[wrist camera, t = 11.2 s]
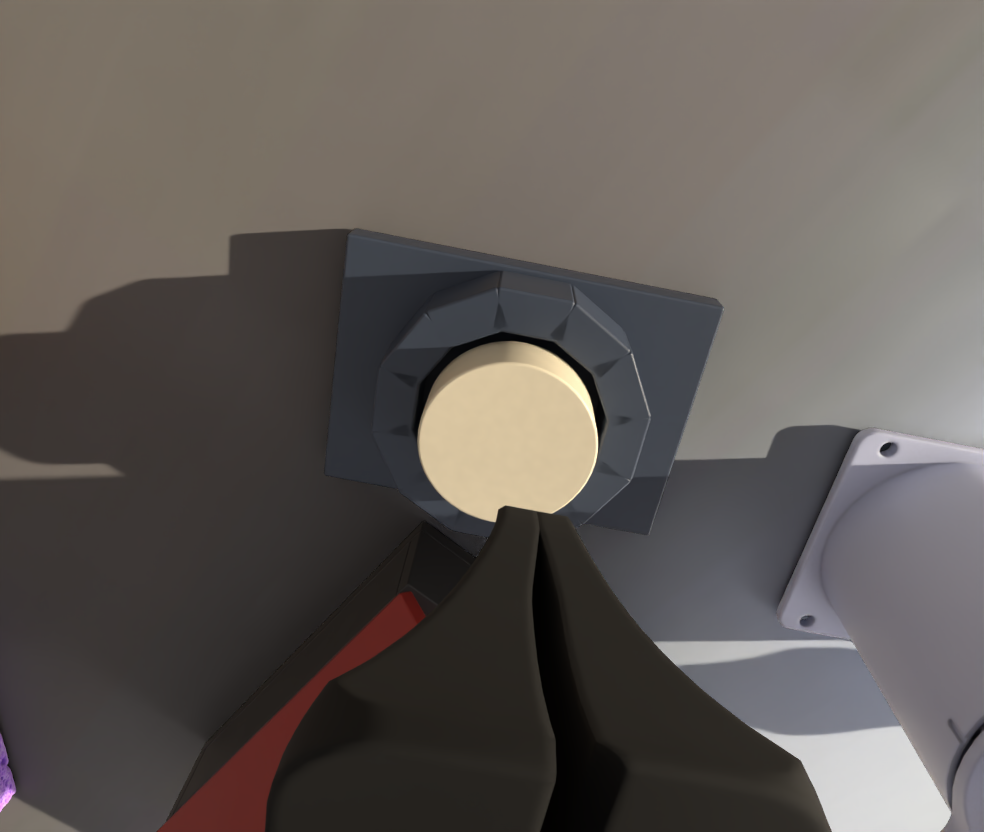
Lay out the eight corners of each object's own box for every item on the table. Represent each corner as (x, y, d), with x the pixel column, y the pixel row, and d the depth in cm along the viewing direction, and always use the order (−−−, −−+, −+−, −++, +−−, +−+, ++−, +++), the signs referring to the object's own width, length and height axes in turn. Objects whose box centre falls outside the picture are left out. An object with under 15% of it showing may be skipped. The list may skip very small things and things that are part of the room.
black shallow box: (649, 684, 28) (664, 763, 24) (411, 863, 33) (398, 949, 30) (423, 519, 25) (407, 583, 22) (204, 743, 30) (165, 821, 27)
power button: (611, 358, 20) (618, 382, 18) (571, 505, 22) (574, 538, 20) (439, 325, 19) (431, 345, 18) (415, 476, 21) (405, 507, 20)
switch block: (717, 298, 21) (745, 328, 19) (645, 520, 25) (659, 573, 22) (354, 227, 21) (327, 247, 18) (330, 461, 24) (305, 508, 22)
